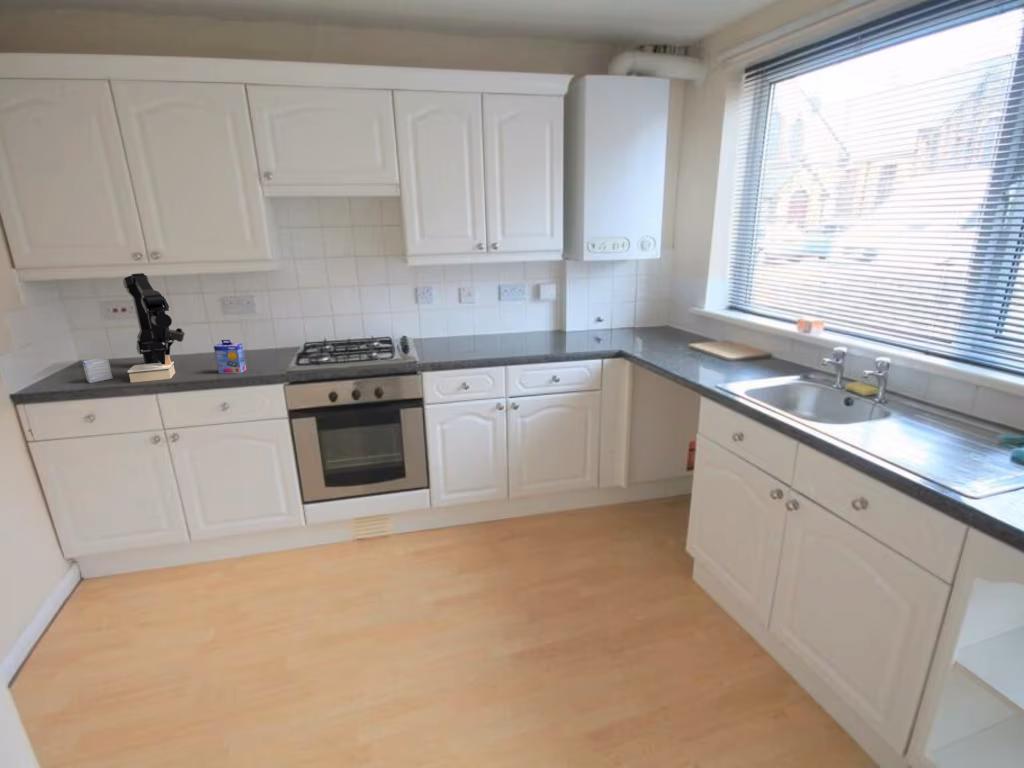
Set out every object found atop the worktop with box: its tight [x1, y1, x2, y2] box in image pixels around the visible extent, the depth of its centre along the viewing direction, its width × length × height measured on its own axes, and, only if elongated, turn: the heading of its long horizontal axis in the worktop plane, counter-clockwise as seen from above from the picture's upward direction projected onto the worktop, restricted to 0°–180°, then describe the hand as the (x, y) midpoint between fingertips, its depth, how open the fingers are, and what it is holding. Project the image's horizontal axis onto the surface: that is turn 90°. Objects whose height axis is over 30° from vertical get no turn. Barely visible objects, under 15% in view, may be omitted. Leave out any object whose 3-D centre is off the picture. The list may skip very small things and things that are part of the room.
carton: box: [128, 364, 176, 384], centre depth 224 cm, size 10×14×4 cm
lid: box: [127, 354, 175, 374], centre depth 223 cm, size 10×14×5 cm
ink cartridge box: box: [213, 339, 247, 374], centre depth 229 cm, size 10×6×14 cm, turn 93°
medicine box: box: [81, 357, 113, 384], centre depth 221 cm, size 8×4×9 cm, turn 141°
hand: (165, 361), depth 225 cm, fingers open, 8 cm apart
